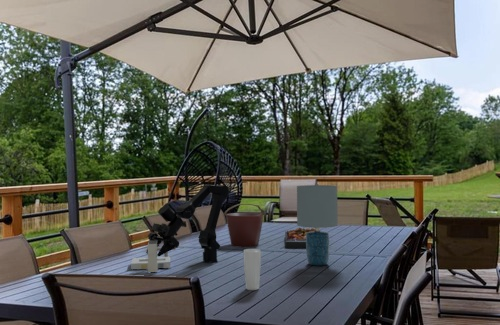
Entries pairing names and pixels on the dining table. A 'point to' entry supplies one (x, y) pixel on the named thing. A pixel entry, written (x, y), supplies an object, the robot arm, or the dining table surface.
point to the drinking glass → (252, 268)
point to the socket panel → (143, 263)
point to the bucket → (244, 227)
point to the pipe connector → (165, 253)
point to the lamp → (317, 219)
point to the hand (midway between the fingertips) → (152, 254)
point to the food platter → (296, 238)
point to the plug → (152, 256)
